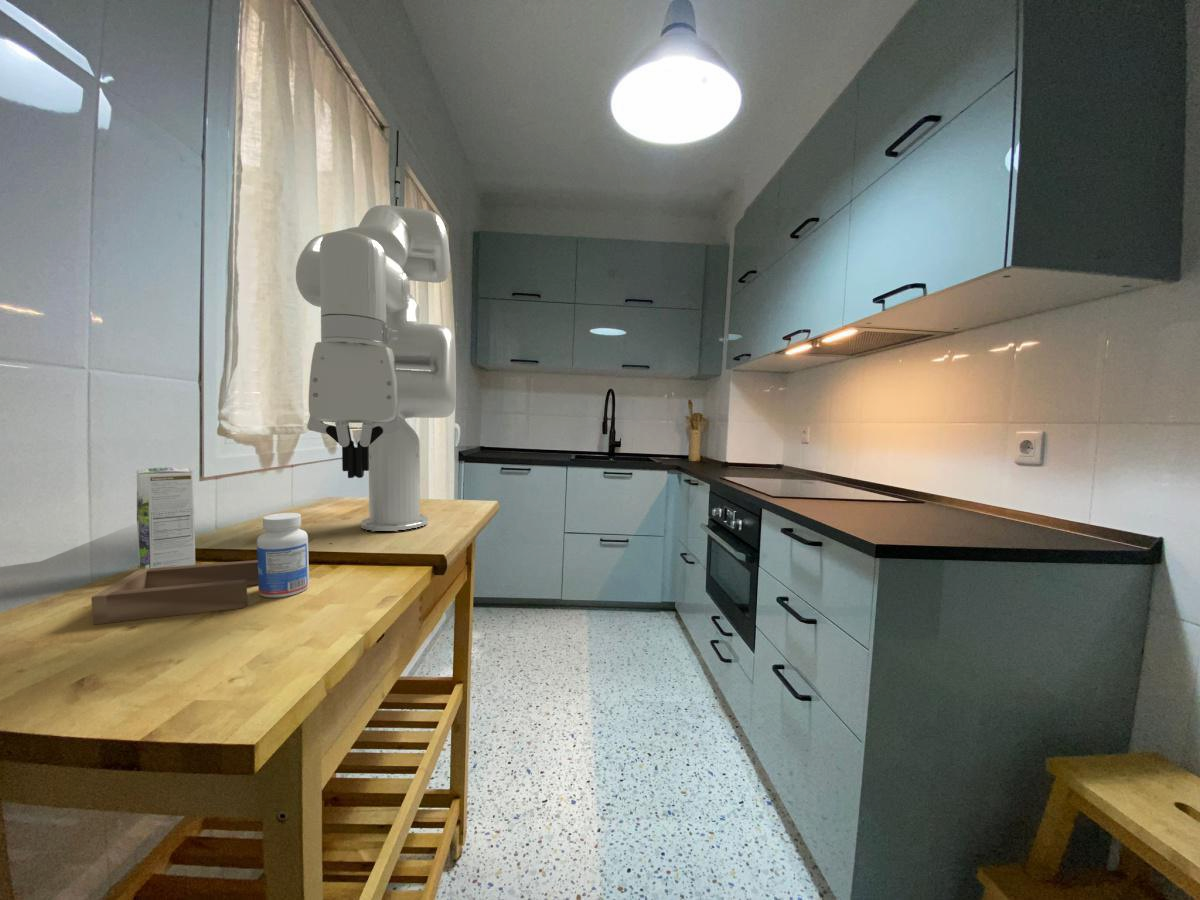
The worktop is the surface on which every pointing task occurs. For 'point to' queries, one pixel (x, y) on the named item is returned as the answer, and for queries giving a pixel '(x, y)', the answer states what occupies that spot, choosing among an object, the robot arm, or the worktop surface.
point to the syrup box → (165, 517)
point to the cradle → (175, 591)
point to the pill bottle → (282, 556)
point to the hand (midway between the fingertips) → (356, 476)
